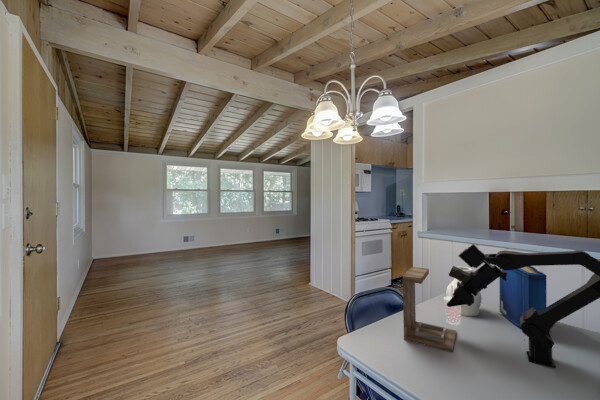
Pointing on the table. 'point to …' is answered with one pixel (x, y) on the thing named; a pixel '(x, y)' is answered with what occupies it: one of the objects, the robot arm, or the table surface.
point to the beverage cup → (452, 311)
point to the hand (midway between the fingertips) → (448, 303)
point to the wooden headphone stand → (419, 330)
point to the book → (522, 292)
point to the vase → (474, 308)
